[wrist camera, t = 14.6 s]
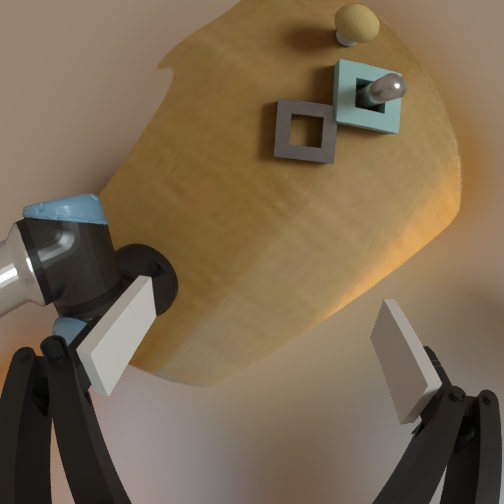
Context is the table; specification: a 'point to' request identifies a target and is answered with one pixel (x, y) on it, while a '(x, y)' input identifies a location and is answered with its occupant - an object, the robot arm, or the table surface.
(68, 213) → the robot arm
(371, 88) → the pin
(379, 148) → the table surface
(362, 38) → the light bulb
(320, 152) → the mount
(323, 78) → the table surface
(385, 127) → the socket
